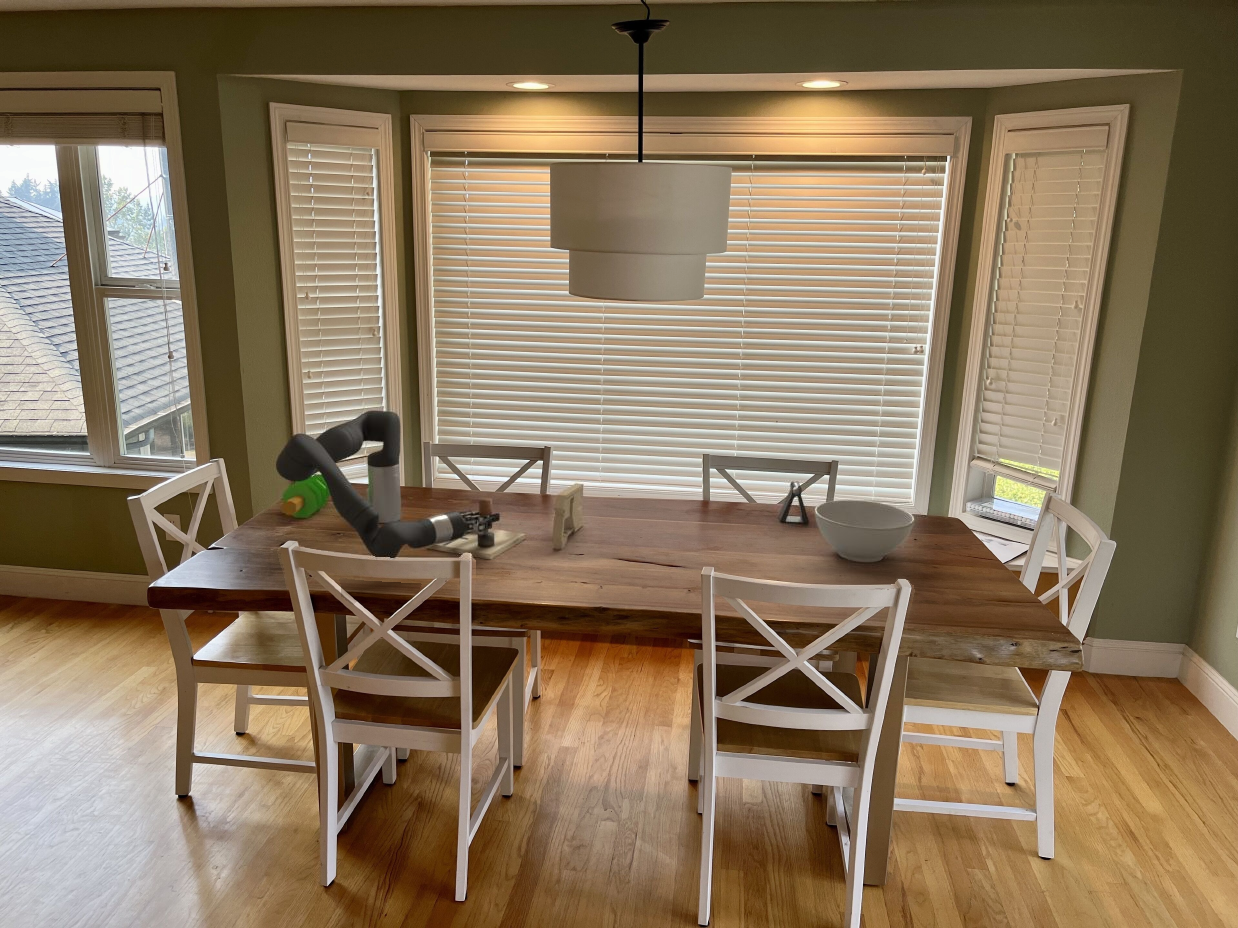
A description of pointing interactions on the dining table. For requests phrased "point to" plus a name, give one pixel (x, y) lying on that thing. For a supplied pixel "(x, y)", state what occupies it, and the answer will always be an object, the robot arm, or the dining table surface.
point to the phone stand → (787, 505)
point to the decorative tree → (305, 497)
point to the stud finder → (474, 531)
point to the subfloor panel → (470, 545)
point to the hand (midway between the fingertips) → (493, 515)
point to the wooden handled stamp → (484, 509)
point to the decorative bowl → (863, 528)
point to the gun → (567, 514)
